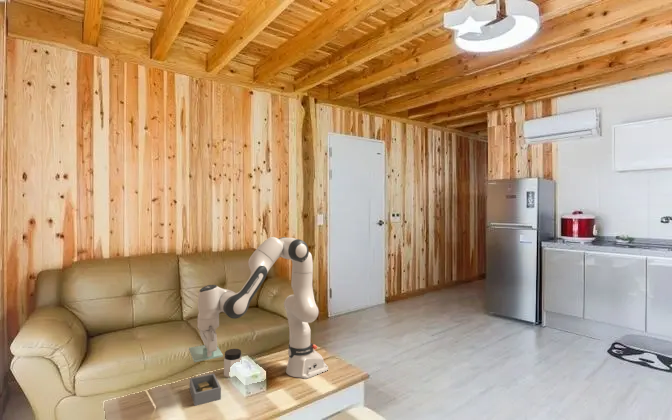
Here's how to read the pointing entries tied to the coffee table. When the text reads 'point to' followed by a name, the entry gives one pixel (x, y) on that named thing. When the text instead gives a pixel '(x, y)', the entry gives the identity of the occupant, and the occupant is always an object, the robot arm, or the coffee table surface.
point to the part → (202, 386)
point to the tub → (205, 395)
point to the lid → (203, 353)
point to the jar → (231, 359)
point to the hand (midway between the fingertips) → (208, 354)
